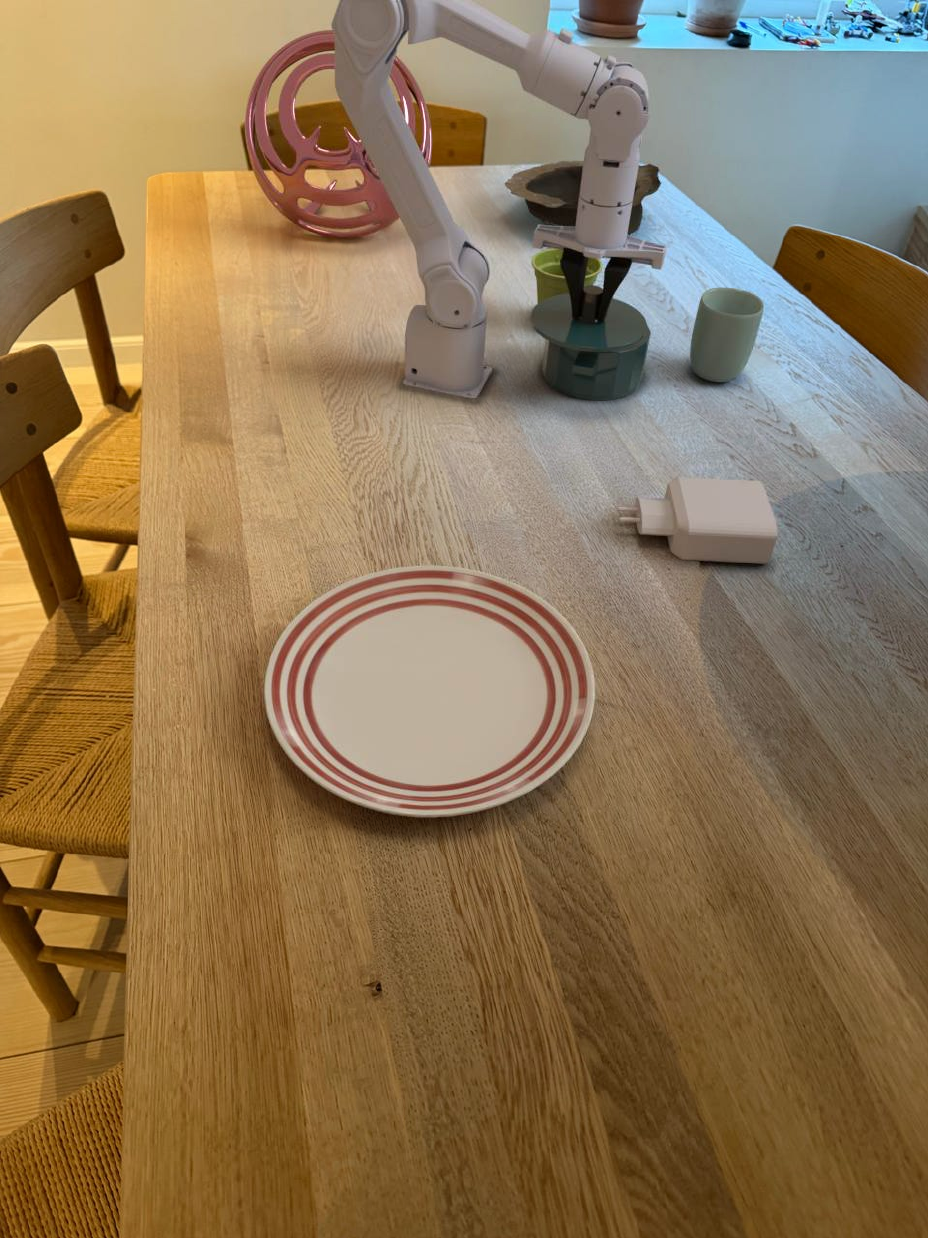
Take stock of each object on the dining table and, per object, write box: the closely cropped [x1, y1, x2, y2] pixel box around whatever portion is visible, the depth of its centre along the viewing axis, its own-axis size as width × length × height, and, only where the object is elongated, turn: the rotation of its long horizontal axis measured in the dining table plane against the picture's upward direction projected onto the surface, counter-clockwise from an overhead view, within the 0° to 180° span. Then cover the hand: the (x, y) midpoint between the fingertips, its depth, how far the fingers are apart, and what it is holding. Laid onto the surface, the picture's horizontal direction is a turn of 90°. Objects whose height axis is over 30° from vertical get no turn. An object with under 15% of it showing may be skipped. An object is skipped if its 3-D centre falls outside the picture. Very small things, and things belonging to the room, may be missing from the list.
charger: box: [616, 476, 779, 565], centre depth 98 cm, size 5×9×15 cm
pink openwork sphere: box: [244, 29, 433, 240], centre depth 144 cm, size 28×28×27 cm
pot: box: [541, 324, 652, 401], centre depth 120 cm, size 13×18×6 cm
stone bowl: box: [504, 160, 662, 236], centre depth 154 cm, size 25×25×9 cm
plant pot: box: [531, 248, 603, 304], centre depth 129 cm, size 9×9×9 cm
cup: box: [689, 287, 765, 383], centre depth 120 cm, size 8×8×10 cm
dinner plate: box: [263, 564, 596, 818], centre depth 80 cm, size 27×27×3 cm
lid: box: [529, 284, 648, 352], centre depth 111 cm, size 14×14×5 cm
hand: (588, 316), depth 111 cm, fingers closed on lid, 2 cm apart
